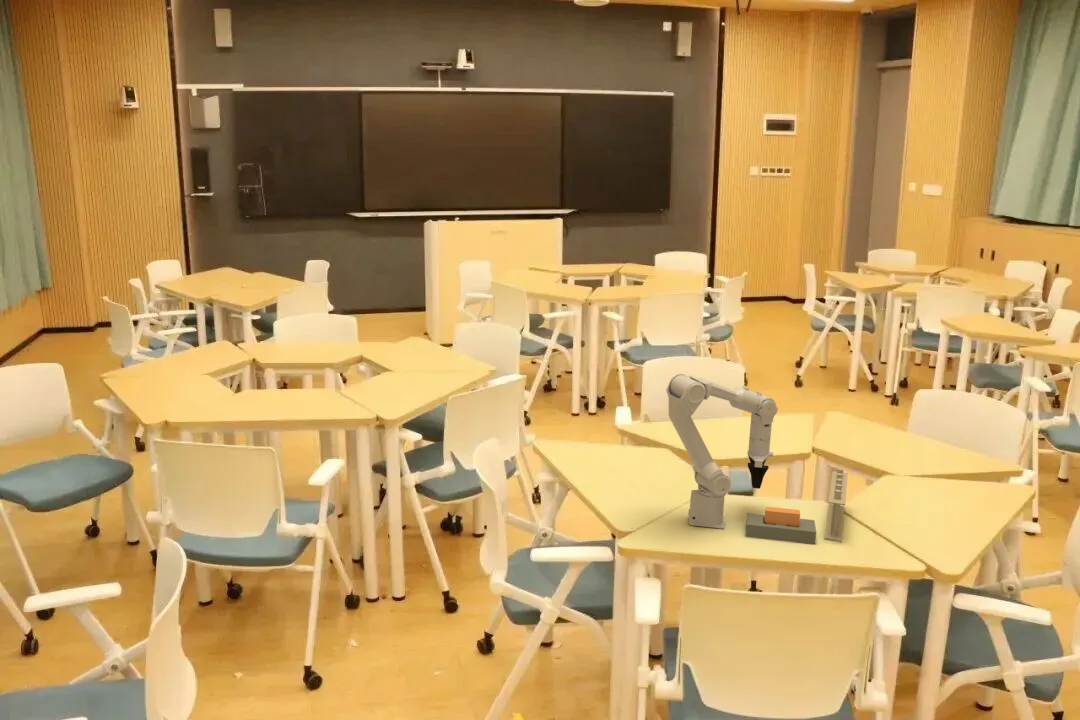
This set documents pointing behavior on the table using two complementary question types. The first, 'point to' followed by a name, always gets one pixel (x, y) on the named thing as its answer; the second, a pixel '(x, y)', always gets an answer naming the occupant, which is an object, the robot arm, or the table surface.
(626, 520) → the table surface
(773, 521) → the orange c-shaped bracket
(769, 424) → the robot arm
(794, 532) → the socket rail
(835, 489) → the test tube rack
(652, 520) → the table surface
